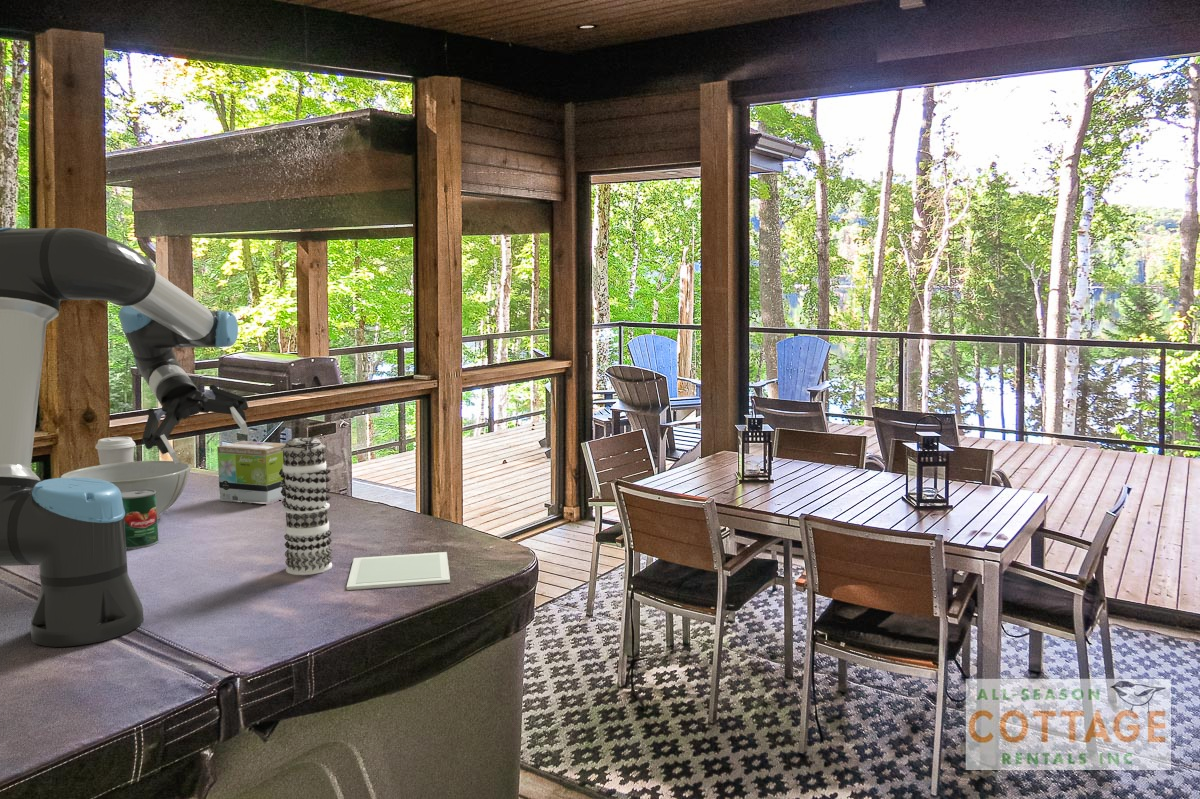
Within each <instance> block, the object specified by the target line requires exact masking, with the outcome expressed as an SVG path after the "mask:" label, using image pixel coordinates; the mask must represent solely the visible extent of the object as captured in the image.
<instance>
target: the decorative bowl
mask: <svg viewBox="0 0 1200 799" xmlns="http://www.w3.org/2000/svg"><path fill="white" fill-rule="evenodd" d="M190 473H191V465H190V464H189V463H187V462H182V461H179V463H177V464H175V462H174V461H173V460H139V461H138V460H137V461H133V462H122V463H113V464H105V465H100V464H98V465H93V466H87V467H82V468H78V469H74V470H71V471H68V472H65V473H63V474H62V475H60V477H59V478H72V477H79V478H93V479H100V480H104V481H108V482H110V483H113V484H114V485H115V486H117V487H118V488H119V490H120V492H123V491H129V490H138V489H151V490H155V491H156V507H157V521H158V520H160V518H161V514H163V512H165V511H167V510H168V509H169V508H171V507H172V505H174V504H175V502H176V501H177V500H178V499H179V497H180V496H181V495H182V493H183V491H184V489H185V487H186V485H187V482H188V480H189V477H190Z"/></svg>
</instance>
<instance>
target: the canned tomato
mask: <svg viewBox="0 0 1200 799" xmlns="http://www.w3.org/2000/svg"><path fill="white" fill-rule="evenodd" d="M121 495H122V501H123V507H124V510H125V516H124V522H125V538H126V550H133V549H134V548H136V549H142V548H147V547H151V546H154V545H156V544H159V528H158V525H159V524H158V520H157V507H156V491H155V490H151V489H138V490H129V491H123V492H121Z"/></svg>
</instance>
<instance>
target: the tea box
mask: <svg viewBox="0 0 1200 799" xmlns="http://www.w3.org/2000/svg"><path fill="white" fill-rule="evenodd" d="M285 445H286V443H284V442H283V443H281V442H270V441H269V442H268V441H267V442H265V441H254V440H253V441H250V440H249V441H248V440H240V441H237V442H234V443H233V442H232V443H229V444H224V445H221V446H217V447H216V448H217V453H216V454H217V466H218V467H217V468H218V486H219V489H218V490H219V500H220V502H232V501H240V502H239V503H242V502H270V501H273V500H276V499H280V498H283V497H285V496H282V493H281V490H282V486H281V485H280V483H281V480H282V479H284V478H282V477H280V475H279V472H280V470H281V469H283V462H284V461H283V450H282V449H281V448H282V447H284V446H285ZM284 474H285V473H284ZM241 501H242V502H241Z"/></svg>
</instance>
